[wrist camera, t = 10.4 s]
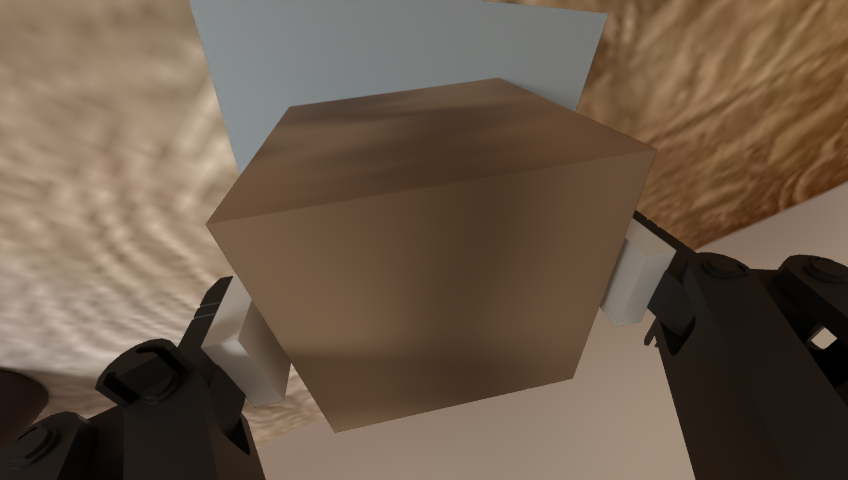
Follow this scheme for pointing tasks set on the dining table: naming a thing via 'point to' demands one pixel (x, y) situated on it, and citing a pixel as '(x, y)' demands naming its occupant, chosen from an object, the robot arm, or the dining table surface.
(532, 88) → the slate block
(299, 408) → the dining table surface
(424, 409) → the walnut cube
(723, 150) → the dining table surface
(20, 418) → the bottle
